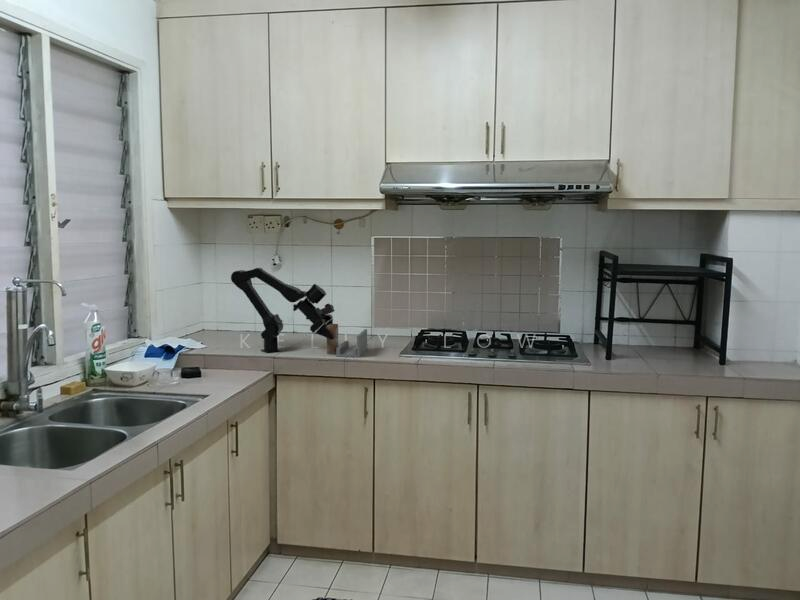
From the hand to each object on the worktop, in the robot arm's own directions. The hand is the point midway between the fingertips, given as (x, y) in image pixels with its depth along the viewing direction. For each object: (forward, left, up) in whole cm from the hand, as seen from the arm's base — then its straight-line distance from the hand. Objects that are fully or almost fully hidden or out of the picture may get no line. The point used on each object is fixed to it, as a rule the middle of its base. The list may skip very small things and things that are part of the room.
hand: (335, 337), depth 275 cm
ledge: (+5, +4, -7) cm, 9 cm away
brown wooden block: (-1, -1, -7) cm, 7 cm away
